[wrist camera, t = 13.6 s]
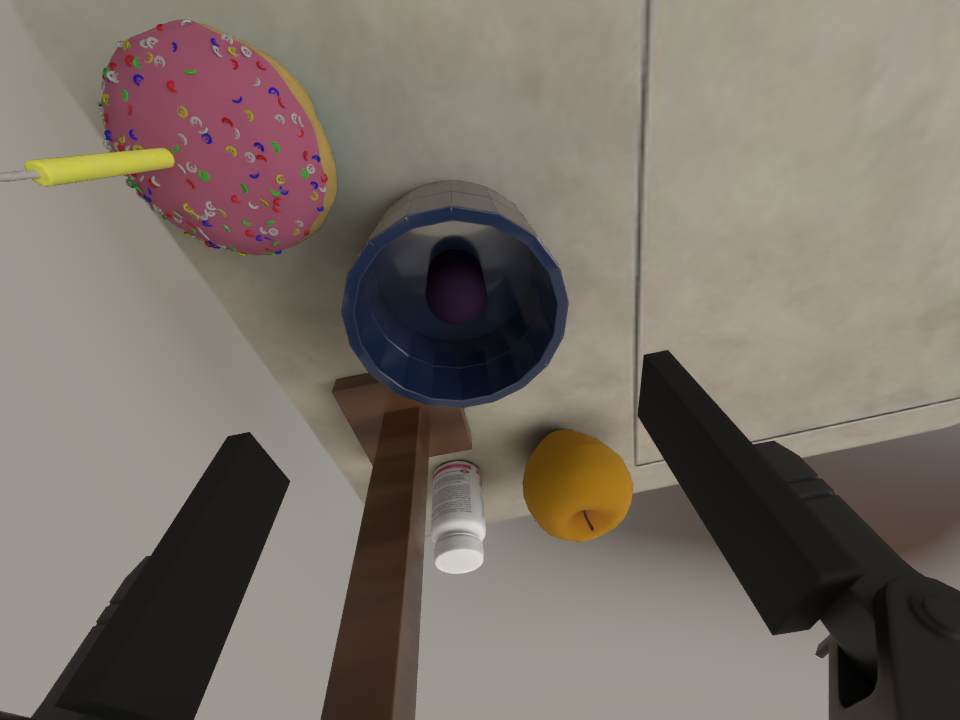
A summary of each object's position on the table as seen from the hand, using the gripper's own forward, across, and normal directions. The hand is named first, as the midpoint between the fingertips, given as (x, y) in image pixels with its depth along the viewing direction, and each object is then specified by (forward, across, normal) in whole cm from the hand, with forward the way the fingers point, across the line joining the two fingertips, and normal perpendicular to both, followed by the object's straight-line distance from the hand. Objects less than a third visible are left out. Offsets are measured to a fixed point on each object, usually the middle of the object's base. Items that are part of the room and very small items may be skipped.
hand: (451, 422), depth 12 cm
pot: (+14, 0, 0) cm, 14 cm away
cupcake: (+14, -8, +8) cm, 18 cm away
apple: (+14, +6, -19) cm, 24 cm away
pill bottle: (+14, -4, -21) cm, 26 cm away
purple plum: (+14, 0, 0) cm, 14 cm away
